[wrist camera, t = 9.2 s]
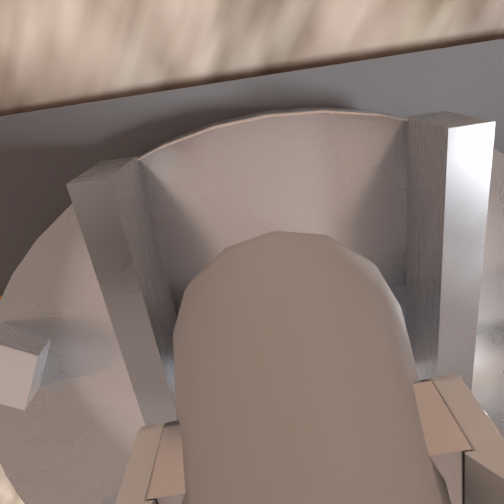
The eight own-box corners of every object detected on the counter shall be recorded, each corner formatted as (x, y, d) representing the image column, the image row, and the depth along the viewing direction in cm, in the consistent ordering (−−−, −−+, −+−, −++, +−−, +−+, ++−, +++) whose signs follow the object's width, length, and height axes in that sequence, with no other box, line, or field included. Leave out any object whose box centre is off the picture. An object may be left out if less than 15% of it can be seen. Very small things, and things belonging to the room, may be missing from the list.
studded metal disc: (660, 51, 13) (897, 41, 8) (547, 548, 22) (625, 673, 18) (-100, 165, 14) (-275, 215, 9) (106, 592, 23) (71, 721, 19)
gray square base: (666, 12, 13) (707, 7, 12) (548, 535, 24) (564, 559, 22) (-115, 133, 14) (-148, 139, 13) (100, 580, 25) (93, 606, 24)
